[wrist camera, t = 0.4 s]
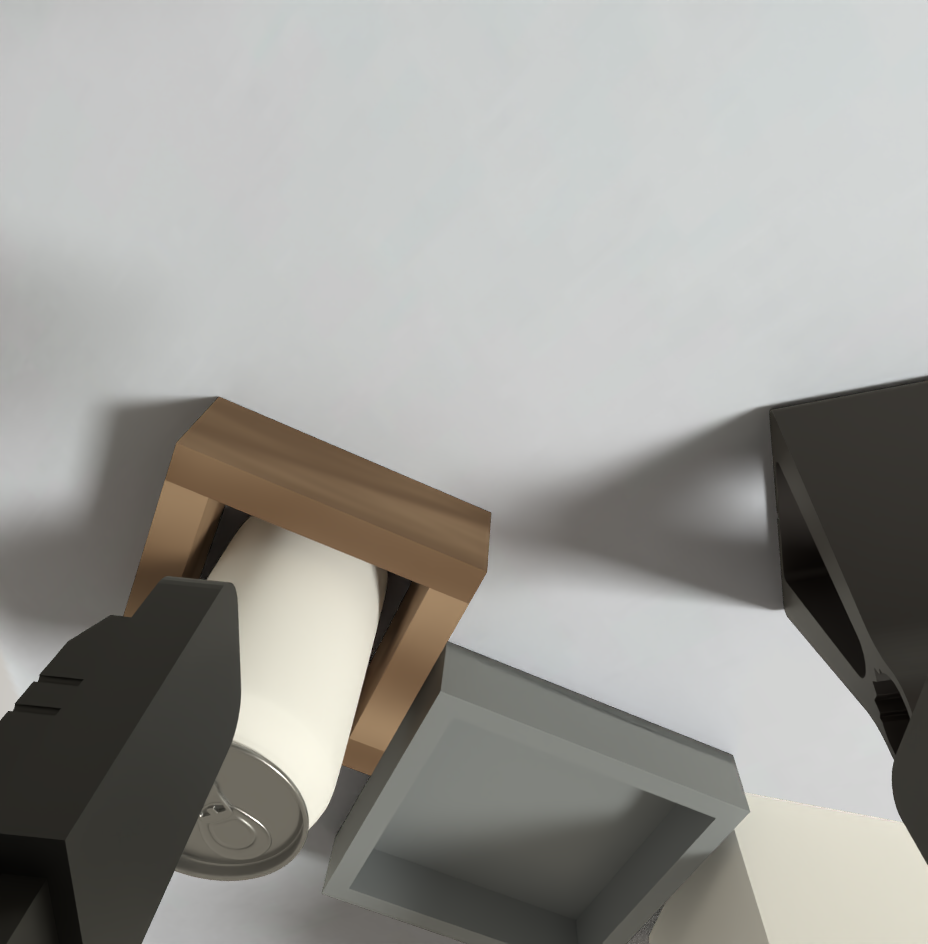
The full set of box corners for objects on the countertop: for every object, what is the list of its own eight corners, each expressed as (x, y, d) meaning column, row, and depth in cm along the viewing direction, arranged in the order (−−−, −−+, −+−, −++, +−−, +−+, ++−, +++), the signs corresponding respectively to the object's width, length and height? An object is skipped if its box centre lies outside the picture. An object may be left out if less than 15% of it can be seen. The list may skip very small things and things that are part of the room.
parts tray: (447, 641, 33) (440, 691, 31) (732, 755, 35) (750, 811, 32) (335, 838, 39) (321, 893, 37) (583, 926, 41) (587, 985, 39)
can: (284, 647, 34) (175, 911, 23) (201, 528, 31) (37, 764, 21) (417, 600, 32) (366, 861, 22) (341, 472, 30) (241, 695, 19)
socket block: (219, 396, 29) (176, 442, 25) (491, 512, 30) (487, 571, 27) (148, 613, 34) (104, 677, 30) (386, 704, 35) (370, 775, 31)
